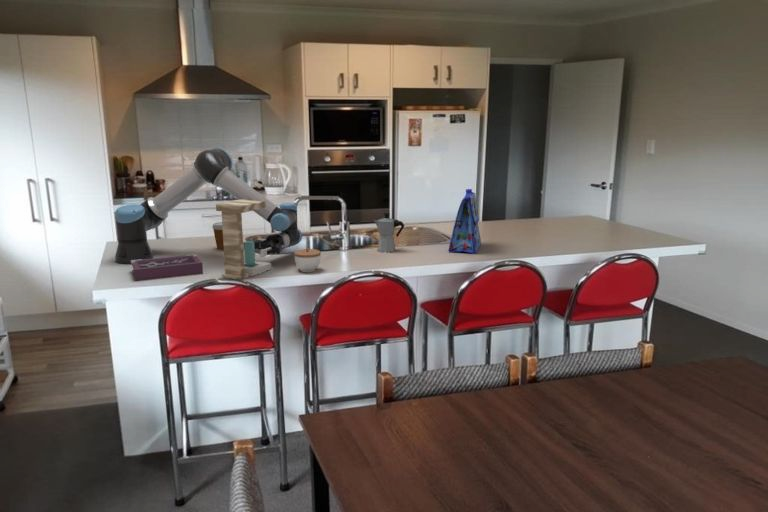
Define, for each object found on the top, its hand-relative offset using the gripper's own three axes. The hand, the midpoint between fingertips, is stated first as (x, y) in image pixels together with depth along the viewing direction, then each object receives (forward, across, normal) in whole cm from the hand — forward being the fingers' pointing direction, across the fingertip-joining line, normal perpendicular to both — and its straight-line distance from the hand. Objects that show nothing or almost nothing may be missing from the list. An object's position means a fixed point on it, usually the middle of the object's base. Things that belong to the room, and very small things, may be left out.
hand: (247, 252), depth 232 cm
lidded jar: (-13, -20, -8) cm, 26 cm away
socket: (-2, 0, -8) cm, 8 cm away
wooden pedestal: (+2, 0, -8) cm, 9 cm away
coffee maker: (-59, -36, -8) cm, 70 cm away
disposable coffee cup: (-30, +36, -8) cm, 48 cm away
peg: (-2, 0, -8) cm, 8 cm away
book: (+14, +29, -9) cm, 34 cm away
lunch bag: (-80, -68, -8) cm, 105 cm away
